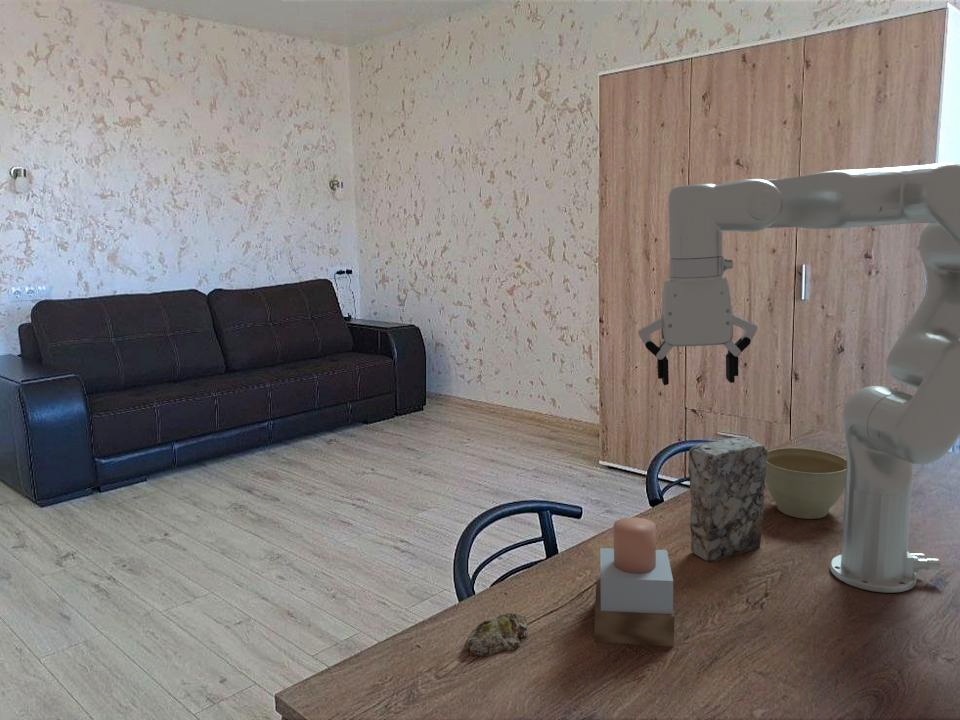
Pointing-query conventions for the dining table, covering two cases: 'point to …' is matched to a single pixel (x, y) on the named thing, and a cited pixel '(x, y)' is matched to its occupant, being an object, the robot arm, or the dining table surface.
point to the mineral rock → (498, 635)
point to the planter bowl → (805, 481)
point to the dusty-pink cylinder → (634, 545)
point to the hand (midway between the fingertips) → (697, 382)
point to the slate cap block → (636, 586)
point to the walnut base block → (632, 625)
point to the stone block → (726, 497)
